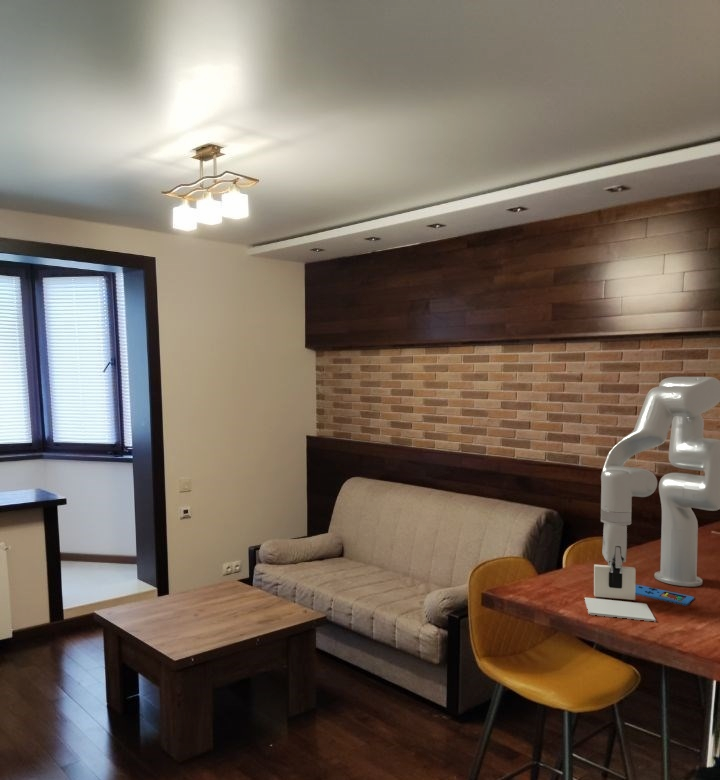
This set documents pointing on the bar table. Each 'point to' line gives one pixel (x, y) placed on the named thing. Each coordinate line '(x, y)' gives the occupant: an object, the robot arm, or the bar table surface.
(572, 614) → the bar table surface
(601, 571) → the ceramic tile
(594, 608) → the rubber mat
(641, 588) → the handheld gaming device
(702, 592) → the bar table surface
